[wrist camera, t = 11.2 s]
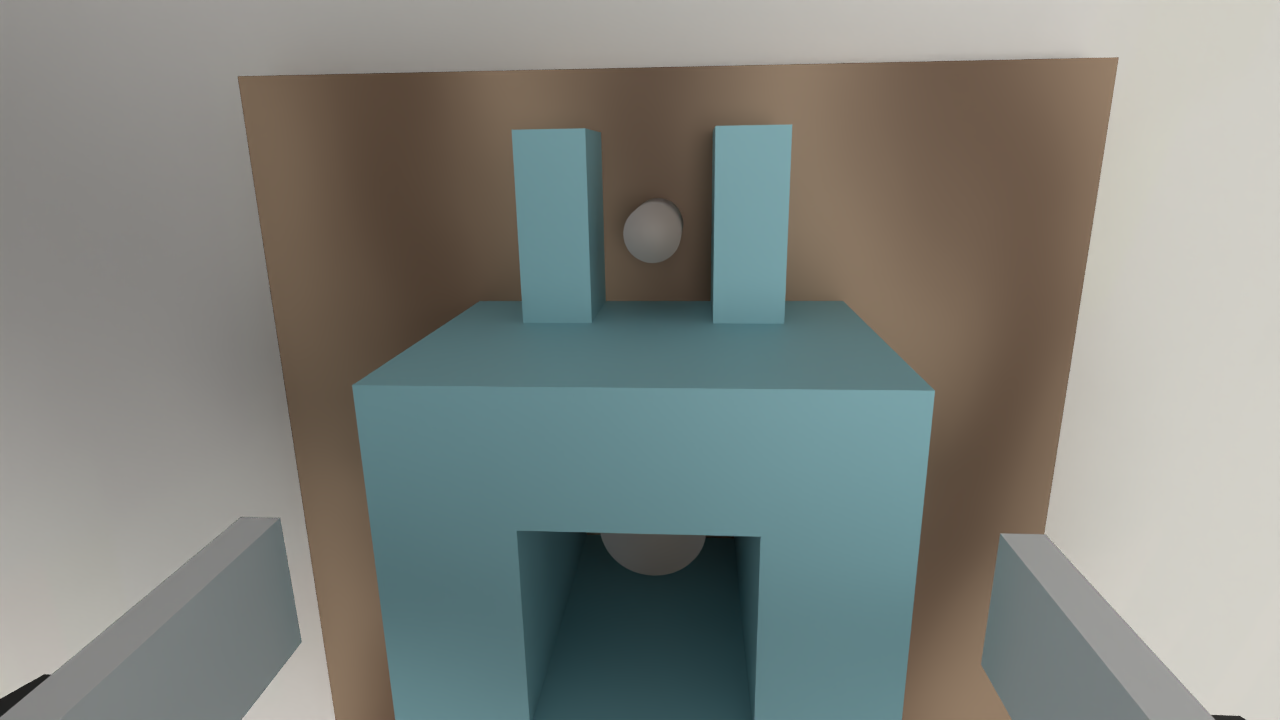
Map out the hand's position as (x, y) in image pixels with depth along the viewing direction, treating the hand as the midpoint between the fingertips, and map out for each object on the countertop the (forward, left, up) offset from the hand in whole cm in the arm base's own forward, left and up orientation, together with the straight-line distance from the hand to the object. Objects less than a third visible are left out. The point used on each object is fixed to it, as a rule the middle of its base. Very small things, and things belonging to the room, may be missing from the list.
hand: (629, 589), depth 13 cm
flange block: (0, 0, -6) cm, 6 cm away
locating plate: (0, 0, -8) cm, 7 cm away
